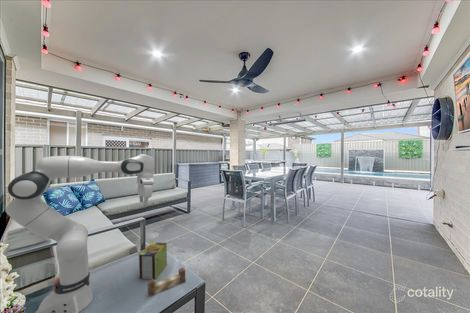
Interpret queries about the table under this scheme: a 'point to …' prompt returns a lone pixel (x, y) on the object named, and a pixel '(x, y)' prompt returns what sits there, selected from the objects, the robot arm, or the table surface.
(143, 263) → the protein box
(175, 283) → the beam
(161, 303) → the table surface
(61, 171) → the robot arm
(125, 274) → the table surface
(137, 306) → the table surface
